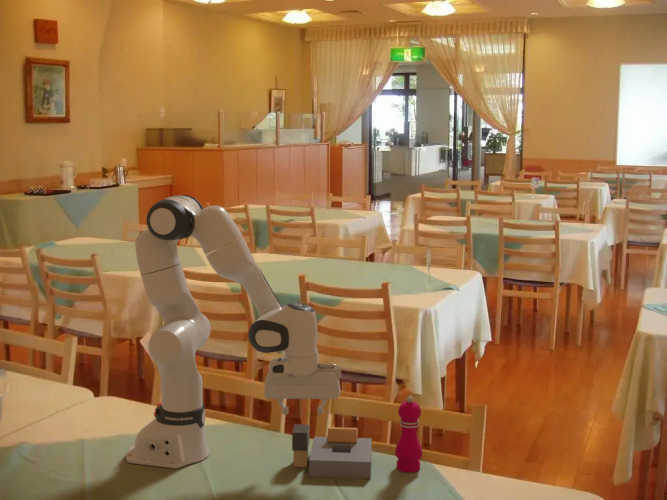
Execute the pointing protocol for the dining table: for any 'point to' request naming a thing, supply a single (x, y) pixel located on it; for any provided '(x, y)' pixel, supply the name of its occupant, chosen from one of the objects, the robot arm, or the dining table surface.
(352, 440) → the block
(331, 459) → the socket block
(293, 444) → the plug
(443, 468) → the dining table surface
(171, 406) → the robot arm
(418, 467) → the pepper mill
